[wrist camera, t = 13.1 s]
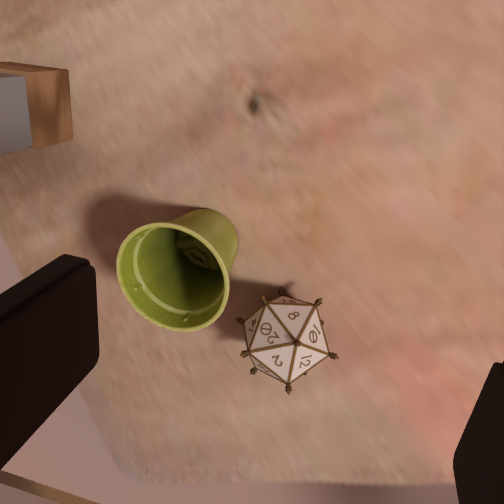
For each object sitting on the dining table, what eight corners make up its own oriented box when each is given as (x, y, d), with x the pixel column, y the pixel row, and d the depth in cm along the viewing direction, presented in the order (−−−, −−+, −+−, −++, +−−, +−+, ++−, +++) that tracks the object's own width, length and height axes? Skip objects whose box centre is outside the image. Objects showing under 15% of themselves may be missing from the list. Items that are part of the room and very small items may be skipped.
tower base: (9, 61, 40) (-36, 63, 36) (68, 69, 39) (29, 72, 35) (18, 129, 43) (-24, 138, 39) (73, 138, 42) (37, 149, 37)
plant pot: (275, 224, 40) (249, 265, 32) (230, 300, 44) (199, 351, 37) (184, 171, 40) (138, 199, 32) (149, 252, 45) (101, 293, 37)
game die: (280, 298, 47) (199, 325, 41) (327, 260, 41) (239, 285, 35) (320, 378, 45) (240, 419, 39) (377, 351, 38) (291, 395, 32)
